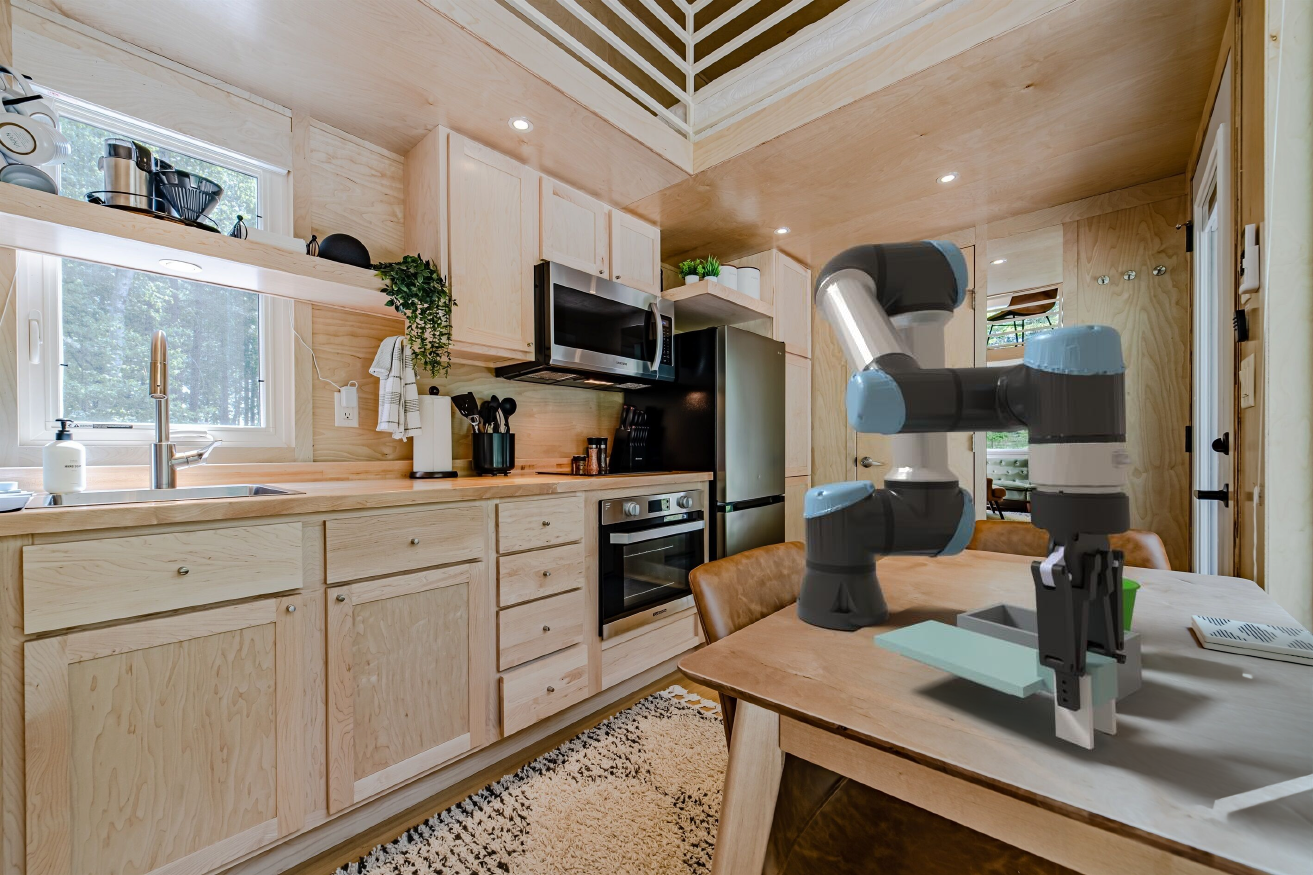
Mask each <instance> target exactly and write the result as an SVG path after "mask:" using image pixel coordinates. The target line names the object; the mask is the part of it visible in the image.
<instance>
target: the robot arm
mask: <svg viewBox="0 0 1313 875" xmlns="http://www.w3.org/2000/svg"><path fill="white" fill-rule="evenodd" d="M968 287H969V271H968V265H967V261H966V258H965V255H964V254H963V252H962V250H961V249H960V247H959V246H957V245H956V244H955V243H953V242H952V241H948V240H931V239H923V240H920V241H919V240H918V241H916V240H915V241H903V242H901V241H900V242H889V243H888V242H886V243H873V244H872V243H865V244H859V245H855V246H852V247H849V248H847V249H845V250H842V251H841V252H840V253H838V254H837V255H835V256H834V257H832V258H831V259H830V260H828V261H827V263H826V264H825V265H824V266H823V268H822V269H821V271H819V273H818V275H817V278H816V280H815V283H814V287H813V301H814V304H815V308H816V310H817V312H818V314H819V316H820V317H821V318H822V319H823V320H824V321H825V322H827V323H829V324H830V325H831V328H832V330H833V332H834V335H835V337H836V339H837V341H838V344H839V346H840V349H841V350H842V353H843V356H844V358H845V360H846V362H847V365H848V367H849V369H850V371H851V373H852V375H851V376H850V378H849V380H848V382H847V385H846V386H847V387H846V392H845V393H846V395H845V407H846V412H847V420H848V423H849V425H850V426H851V428H852V429H853V430H854V431H855V432H857V433H860V434H881V435H884V436H888V435H891V444H892V445H891V449H892V450H891V451H892V468H891V469H890V471H889V472H887V473H886V475H884V476H883V488H876V486H875V484H874V482H873V481H872V480H853V481H852V480H851V481H841V482H833V483H828V484H827V483H826V484H822V485H821V484H820V485H818V486H813V487H812V488H810V489H809V490H807V492H806V494H805V496H804V509H803V515H802V516H803V519H804V538H805V539H804V540H805V543H804V545H805V546H804V547H805V548H804V549H805V572H804V577H803V579H802V584H801V585H800V586H801V587H800V591H799V595H798V596H797V599H796V616H797V617H798V618H799V619H801V620H802V621H804V622H806V623H809V624H811V625H813V626H814V625H815V626H818V627H822V628H827V629H834V630H843V631H860V630H861V629H864V628H866V627H871V626H877V625H880V624H883V623H885V622H887V621H888V620H889V616H890V615H889V606H888V604H887V602H886V600H885V597H884V594H883V591H882V588H881V584H880V581H879V578H878V575H877V558H878V557H927V558H932V559H936V558H938V557H953V556H957V555H959V554H960V553H963V552H964V551H965V550H966V548H967V547H968V546H969V545H970V543H971V540H972V538H973V536H974V533H975V532H974V531H975V526H976V518H977V517H976V513H977V512H976V508H975V507H976V506H975V504H974V503H973V502H974V501H973V500H974V499H973V497H972V494H971V492H969V491H968V490H967V489H966V488H964V487H961V486H960V479H959V477H958V476H957V475H956V474H955V473H954V472H952V471H951V470H950V468H949V456H948V454H949V453H948V452H949V451H948V450H949V447H948V433H980V432H981V433H982V432H983V433H985V432H986V433H990V432H991V433H993V434H994V433H997V434H999V433H1007V434H1008V433H1009V434H1010V433H1011V434H1012V433H1016V432H1021V431H1027V444H1028V445H1027V451H1028V453H1027V454H1028V455H1027V458H1028V459H1027V460H1028V461H1027V462H1028V465H1027V466H1028V482H1029V484H1031V485H1033V486H1036V488H1035V489H1033V490H1032V492H1031V493H1029V505H1030V506H1029V507H1030V510H1029V512H1030V523H1031V525H1032V526H1033V527H1035V528H1037V529H1039V530H1045V531H1047V533H1048V535H1049V536H1048V543H1047V547H1046V559H1045V561H1039V560H1033V561H1031V564H1030V572H1031V576H1032V580H1033V583H1034V587H1035V588H1034V589H1035V607H1036V608H1035V610H1037V628H1038V646H1039V662H1040V665H1042V666H1045V667H1049V668H1052V669H1054V694H1055V695H1054V714H1055V715H1054V717H1055V719H1054V720H1055V722H1054V723H1055V737H1057V738H1060V739H1063V740H1064V741H1067V742H1069V743H1073V744H1075V745H1078V746H1080V747H1083V748H1085V749H1088V750H1092V749H1094V748H1095V743H1094V740H1095V739H1094V730H1098V731H1101V732H1104V733H1106V734H1110V735H1111V736H1114V735H1115V734H1117V718H1116V717H1117V716H1116V712H1117V711H1116V703H1115V699H1113V700H1111V701H1109V702H1108V703H1106V704H1104V705H1102V706H1101V707H1096V706H1093V705H1092V688H1091V675H1088V674H1085V672H1086V670H1085V669H1086V651H1087V652H1091V653H1095V654H1099V655H1103V656H1106V657H1110V658H1114V659H1117V663H1120V664H1125V662H1126V655H1122V654H1118V653H1116V650H1118V651H1122V650H1123V649H1124V619H1123V578H1124V577H1123V575H1124V574H1123V571H1124V566H1125V565H1124V564H1125V559H1126V554H1125V551H1124V550H1122V549H1116V548H1115V549H1114V548H1111V542H1110V538H1109V535H1120V534H1124V533H1127V532H1128V531H1129V530H1130V529H1131V514H1130V513H1131V512H1130V496H1129V495H1127V493H1126V492H1123V491H1120V488H1122V487H1125V486H1126V485H1128V484H1129V483H1128V481H1129V480H1128V465H1131V464H1133V463H1134V461H1135V458H1134V456H1133V455H1132V454H1130V453H1127V436H1126V435H1127V412H1126V409H1127V408H1126V370H1127V365H1126V363H1125V362H1124V356H1123V348H1122V347H1123V346H1122V337H1121V334H1120V332H1119V331H1118V330H1117V329H1116V328H1114V327H1112V326H1110V325H1104V324H1087V325H1086V324H1084V325H1074V326H1072V325H1071V326H1064V327H1059V328H1053V329H1047V330H1043V331H1039V332H1037V333H1034V334H1032V335H1031V336H1029V337H1028V338H1027V340H1026V341H1025V344H1024V345H1025V346H1024V354H1023V358H1022V363H1021V362H1020V363H1017V364H1012V365H1001V366H976V367H975V366H974V367H972V366H971V367H946V352H945V351H946V350H945V327H946V325H948V323H949V322H950V321H952V319H953V318H955V311H954V310H957V309H958V308H959V307H960V306H961V305H963V303H964V301H965V300H966V296H967V288H968Z"/></svg>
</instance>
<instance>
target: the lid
mask: <svg viewBox="0 0 1313 875" xmlns="http://www.w3.org/2000/svg"><path fill="white" fill-rule="evenodd" d="M873 645H874V646H877V647H880V648H882V649H886V650H888V651H891V652H894V653H896V654H899V655H900V656H902V657H905V658H907V659H910V660H913V661H915V662H919V663H922V664H924V665H926V666H929V667H933V668H935V669H937V670H941V671H943V672H945V673H948V674H951V675H954V676H958V677H960V678H963V679H966V680H968V681H971V682H974V683H977V684H979V685H981V686H985V687H987V688H989V689H994V690H996V691H998V692H1002V693H1003V694H1004V693H1005V694H1007V695H1009V696H1011V695H1012V696H1013V695H1014V696H1016V697H1019V698H1022V699H1025V698H1027V697H1029V696H1031V695H1033V694H1035V693H1037V692H1039V691H1042V689H1045V690H1048V691H1051V692H1054V669H1052V668H1049V667H1045V666H1042V665H1040V662H1039V650H1036V649H1033V648H1029V647H1026V646H1022V645H1018V644H1015V643H1011V642H1008V641H1004V640H1001V639H997V638H994V637H990V636H986V635H983V634H979V633H976V632H972V631H969V630H965V629H961V628H958V627H957V626H954V625H950V624H948V623H943V622H939V621H937V620H934V619H933V620H932V619H930V620H926V621H923V622H919V623H915V624H913V625H912V624H911V625H909V626H905V627H902V628H897V629H893V630H891V631H887V632H884V633H881V634H878V635H877V634H876V635H874V636H873ZM1085 670H1086V672H1085V674H1088V675H1091V688H1092V705H1093V706H1096V707H1101V706H1102V705H1104V704H1106V703H1108V702H1109V701H1111V700H1113V699H1115V698H1117V697H1118V681H1117V659H1114V658H1110V657H1106V656H1103V655H1099V654H1095V653H1091V652H1087V651H1086V669H1085Z"/></svg>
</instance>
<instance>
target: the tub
mask: <svg viewBox="0 0 1313 875" xmlns="http://www.w3.org/2000/svg"><path fill="white" fill-rule="evenodd" d="M956 627H958V628H961V629H965V630H969V631H972V632H976V633H979V634H983V635H986V636H990V637H994V638H997V639H1001V640H1004V641H1008V642H1011V643H1015V644H1018V645H1022V646H1026V647H1029V648H1033V649H1036V650H1039V646H1038V628H1037V610H1036V609H1032V608H1027V607H1023V606H1019V605H1015V604H1011V603H1010V604H1009V603H1006V602H1001V601H999V602H996V603H994V604H993V603H992V604H990V605H986V606H982V607H980V608H977V609H976V608H975V609H973V610H968V611H965V612H962V613H959V614H956ZM1141 642H1142V641H1141V633H1139V632H1134V631H1131V630H1130V631H1126V630H1124V649H1123V650H1122V651H1118V650H1116V653H1118V654H1122V655H1126V662H1125V664H1120V663H1117V681H1118V697H1117V698H1115V704H1116V703H1118V702H1120V701H1121V700H1123V699H1125V698H1127V697H1128V696H1130V695H1132V694H1133V693H1135V692H1137V691H1139V690H1140V689H1142V688H1143V675H1142V674H1143V671H1142V669H1143V668H1142V651H1141V650H1142V646H1141V644H1142V643H1141ZM1041 691H1042V692H1045V693H1048V694H1051V695H1053V696H1055V694H1054V692H1051V691H1048V690H1045V689H1042V690H1041Z"/></svg>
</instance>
